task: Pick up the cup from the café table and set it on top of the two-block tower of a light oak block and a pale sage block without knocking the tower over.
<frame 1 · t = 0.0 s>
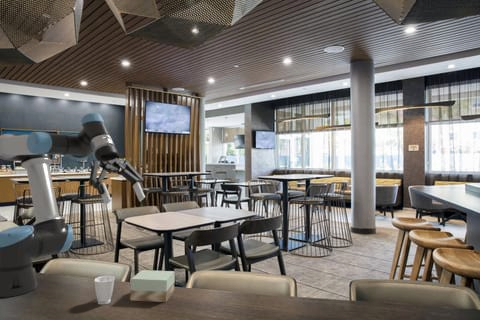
hand: (126, 200, 109), 36 cm above the table, tool tilted 35°, fingers open, 13 cm apart
cup: (105, 300, 115), on the table
top block: (153, 285, 120), point 4 cm above the table, touching bottom block
bottom block: (153, 296, 120), on the table, touching top block
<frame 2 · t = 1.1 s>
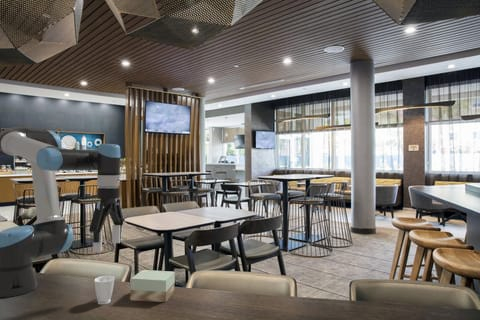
hand: (107, 247, 116), 19 cm above the table, tool pointing down, fingers open, 13 cm apart
nothing on the table moved.
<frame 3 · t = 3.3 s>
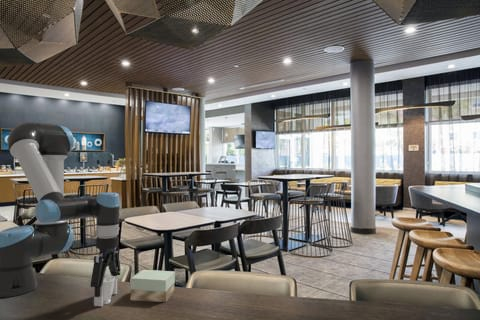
hand: (106, 299, 115), 0 cm above the table, tool pointing down, fingers closed on cup, 10 cm apart
cup: (105, 300, 115), on the table, touching gripper
top block: (153, 285, 121), point 4 cm above the table
bottom block: (153, 296, 120), on the table
when the fingers open (10 cm above the table, at t = 9.0 s): cup drops 2 cm, point 7 cm above the table.
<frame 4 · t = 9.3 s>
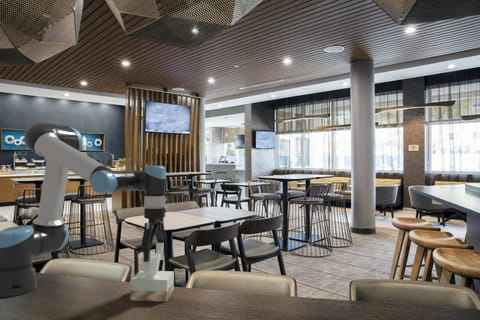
hand: (153, 264, 120), 11 cm above the table, tool pointing down, fingers open, 13 cm apart
cup: (151, 277, 119), point 7 cm above the table, touching gripper
top block: (153, 286, 120), point 3 cm above the table, touching bottom block
bottom block: (152, 296, 120), on the table, touching top block
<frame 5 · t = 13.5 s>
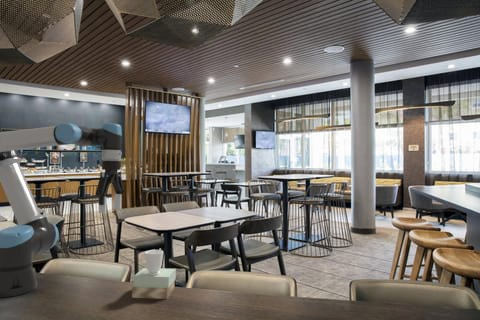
hand: (110, 211, 137), 29 cm above the table, tool pointing down, fingers open, 13 cm apart
cup: (154, 272, 123), point 7 cm above the table, touching top block
top block: (155, 282, 124), point 3 cm above the table, touching bottom block, cup
bottom block: (153, 294, 123), on the table, touching top block
at the end: cup inside the target area on the top block (0.4 cm from its centre), point 3.8 cm above the top block's base; top block 0.8 cm off-centre on the bottom block, point 4.0 cm above the bottom block's base; the gripper is holding nothing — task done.
